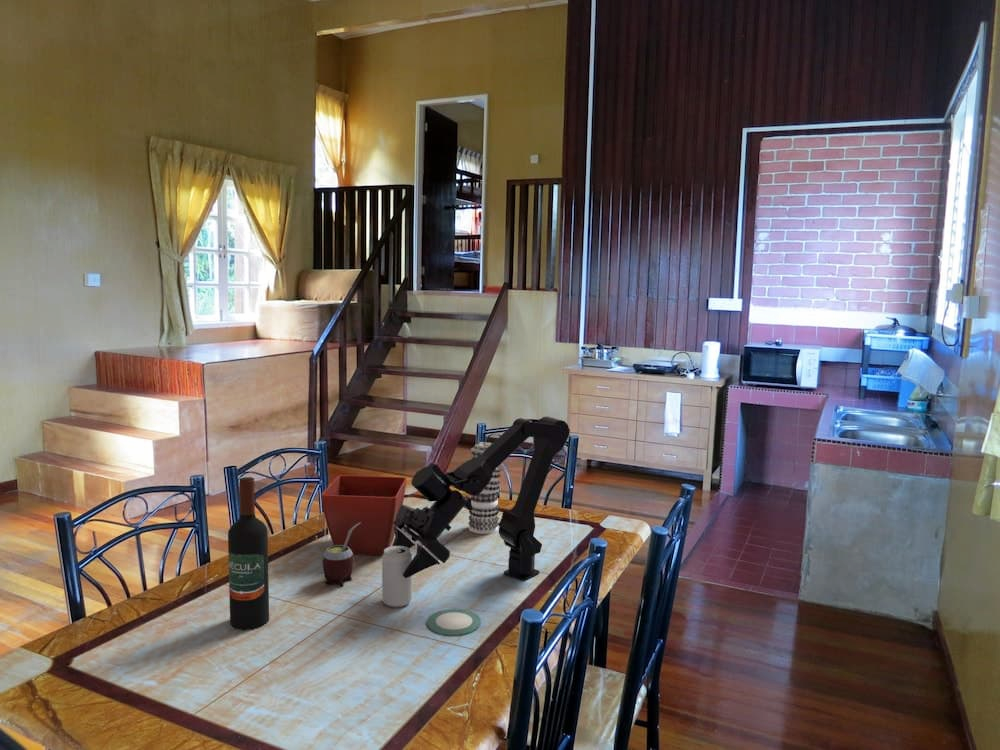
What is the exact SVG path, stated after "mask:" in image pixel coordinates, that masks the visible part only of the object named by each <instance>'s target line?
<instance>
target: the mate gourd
mask: <svg viewBox="0 0 1000 750" xmlns="http://www.w3.org/2000/svg"><path fill="white" fill-rule="evenodd" d="M360 523H361V522H360ZM360 523H358V524H356V525H355V526H353V527H352V528H351V529H350V530H349V531H348V535H347V538H346V541H345V544H344V545H336V546H334V545H332V546H329V547H327V549H326V550H325V552H324V554H323V557H322V569H323V575H324V578H325V581H324V584H325V585H332V584H338V586H339V587H340V588H344V582H350V581H352V580H353V578H352V573H353V569H354V568H353V567H354V561H355V557H354V555H353V552H352V551H351V549H350V548H349V547H348V546H346V545H347V542H348V540H349V537H350V535H351V533H352V530H353V529H354V528H355V527H357V526H358V525H359V524H360Z"/></svg>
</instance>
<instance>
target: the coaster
mask: <svg viewBox="0 0 1000 750" xmlns="http://www.w3.org/2000/svg"><path fill="white" fill-rule="evenodd" d="M426 621H427V622H426V624H427V627H428V629H430V631H432V632H434V633H437V634H439V635H442V636H443V635H444V636H449V637H450V636H453V637H457V636H458V637H459V636H464V635H468V634H471V633H473V631H474V632H476V631H477V630H478V629H479V628H480V627H481V621H482V620H481V618H480V616H479V615H478V614H476V613H474V612H472V611H470V610H465V609H459V608H458V609H456V608H455V609H453V608H452V609H444V610H439V611H437V612H434V613H433V614H431V615H430V616H429V617H428V619H427V620H426ZM479 626H480V627H479Z"/></svg>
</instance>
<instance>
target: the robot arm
mask: <svg viewBox="0 0 1000 750" xmlns="http://www.w3.org/2000/svg"><path fill="white" fill-rule="evenodd" d="M570 433H571V428H570V427H569V424H568V423H567V422H566V421H565V420H561V419H557V418H554V417H551V416H543V417H541V418H539V419H535V418H522V417H520V418H516V419H515V420H514V421H513V423H512V425H510V426H509V427H508V429H506V430H505V431H504V432H503V433H502V434H501V435H500V436H499V437H498V438H496V440H495V441H494V442H492V443H493V444H492V445H490V446H489V447H488V448H487V449H486V450H485V451H484V452H483V453H482V454H481V455H479V456H478V457H476V458H473V459H472V458H471V459H468V460H467V461H465V462H464V463H462V464H461V465H459V466H458V467H456V468H455V470H453V471H449V472H443V471H442V470H441V469H440V467H439V465H437V464H436V463H434V462H430V464H429V465H427V466H425V467H422V468H421V469H419V470H418V471H416V472H415V474H414V475H413V476H412V479H411V481H410V482H411V486H412V487H414V489H416V490H417V492H418V493H420V494H421V496H422V497H424V498H425V499H426V500H427V501H428V502H431V503H432V502H433V503H432V505H431V506H430V507H428V506H425V507H423V508H422V509H421V508H419V507H417V508H414V507H411V506H408V505H405V504H401V506H400V508H399V510H398V513H397V515H396V518H397V519H396V520H395V521H394V522H393V524H394V525H395V526H396V527H397V528H396V527H394V530H395V535H394V538H393V541H392V544H391V545H392V546H405V547H408V548H409V549H410V550H411V549H412V548H413V547H414V546H415V545H416V554H415V555H414V557H412V561H411V562H410V564H409V565H408V567H407V568H406V570H405V571H404V573H403V576H404V577H405V578H408V577H410V576H412V577H413V576H414V575H415V574H417V573H419V572H422V571H424V570H426V569H429V568H431V567H433V566H436V565H440V564H441V563H442V564H445V563H446V562H447V561H448V560H449V559H450V555H451V551H450V550H449V549H448V548H447V547H446V546H445V545H444V544H443V543H442V542H441V541H440V540H438V539H439V537H440V536H441V535H442V534H443V533H444V531H448V532H449V531H450V530H451V529H452V526H451V525H450V524H451V523H452V521H453V520H454V519H455V518H456V517H457V516H458V514H459V513H460V512H461V511H462V510H463V508H464V509H466V510H468V512H469V511H471V510H472V504H471V501H472V499H471V497H469V496H464V495H463V494H462V493H461V492H460V491H462V492H463V493H465V494H467V495H470V496H471V495H478V494H480V493H481V492H482V491H483V490H484V488H485V487H486V486H487V484H488V483H489V482H490V480H491V477H492V474H493V472H494V471H495V470H496V468H499V467H500V466H501V464H503V463H504V462H505V461H506V460H507V459H508V458H509V457H510V456H511V455H512V454H513V453H514V452H515V451H517V449H518V448H520V446H522V445H523V443H524V442H526V440H528V438H532V439H533V446H534V447H533V449H534V450H533V452H532V453H533V454H532V456H531V460H530V463H529V464H528V467H527V470H526V473H525V476H524V479H523V482H522V484H521V487H520V491H519V492H518V495H517V496H518V497H517V499H516V500H515V504H514V506H513V507H512V508H511V509H510V510H507V509H504V510H503V511H502V514H501V519H500V521H498V523H499V524H498V526H497V527H498V534H499V536H500V538H501V539H502V540H503V543H504V545H505V546H506V547H509V548H510V550H508V551H509V553H508V566H507V567H508V568H507V569H506V570H504V571H503V574H504V575H507V576H510V577H513V578H515V579H518V580H522V581H526V580H528V579H530V578H533V577H534V576H536V575H538V574H539V573H540V570H538V569H535V564H536V563H535V561H536V559H535V558H536V557H535V556H536V555H537V554H540V553H541V550H542V547H543V544H542V542H540V541H539V540H538V539H537V538H536V537H535V536H534V535H535V530H536V522H535V521H536V520H535V511H536V508H537V505H538V503H539V501H540V500H539V499H540V497H541V493H542V491H543V488H544V485H545V483H546V479H547V476H548V475H549V471H550V468H551V465H552V462H553V460H554V458H555V456H557V454H558V453H559V452H560V451H561V450H563V448H564V447H565V444H566V443H567V441H568V438H569V437H570ZM451 487H452V488H455V489H451ZM415 542H419V543H420V544H421V545H422V546H421V545H420V544H419V543H417V544H415Z"/></svg>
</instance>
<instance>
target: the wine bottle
mask: <svg viewBox="0 0 1000 750" xmlns="http://www.w3.org/2000/svg"><path fill="white" fill-rule="evenodd" d="M238 483H239V485H238V487H239V518H238V519H237V520H236V521H234V523H233V524H231V526H230V527H229V529H228V533H227V544H228V545H227V548H228V549H227V550H228V551H227V552H228V584H229V585H228V586H229V587H228V589H229V592H228V594H229V596H228V597H229V624H230V627H231V626H232V627H233V628H232V627H231V628H232V629H234V628H235V630H237V629H241V630H240V631H247V630H246V629H251V630H255V629H254V628H256V629H259V628H262V627H263V625H264V624H265V625H267V624H268V623H269V622H270V621H269V620H270V597H269V596H270V593H269V591H270V590H269V588H270V587H269V584H270V583H269V538H268V536H269V535H268V533H269V532H268V528H267V526H266V524H265V523H264V521H262V520H261V519H259V518H257V515H256V511H255V510H256V507H255V504H256V503H255V478H254V477H251V476H247V477H240V478H239V482H238ZM267 622H268V623H267ZM265 625H264V626H265ZM261 626H262V627H261ZM258 627H259V628H258Z"/></svg>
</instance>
